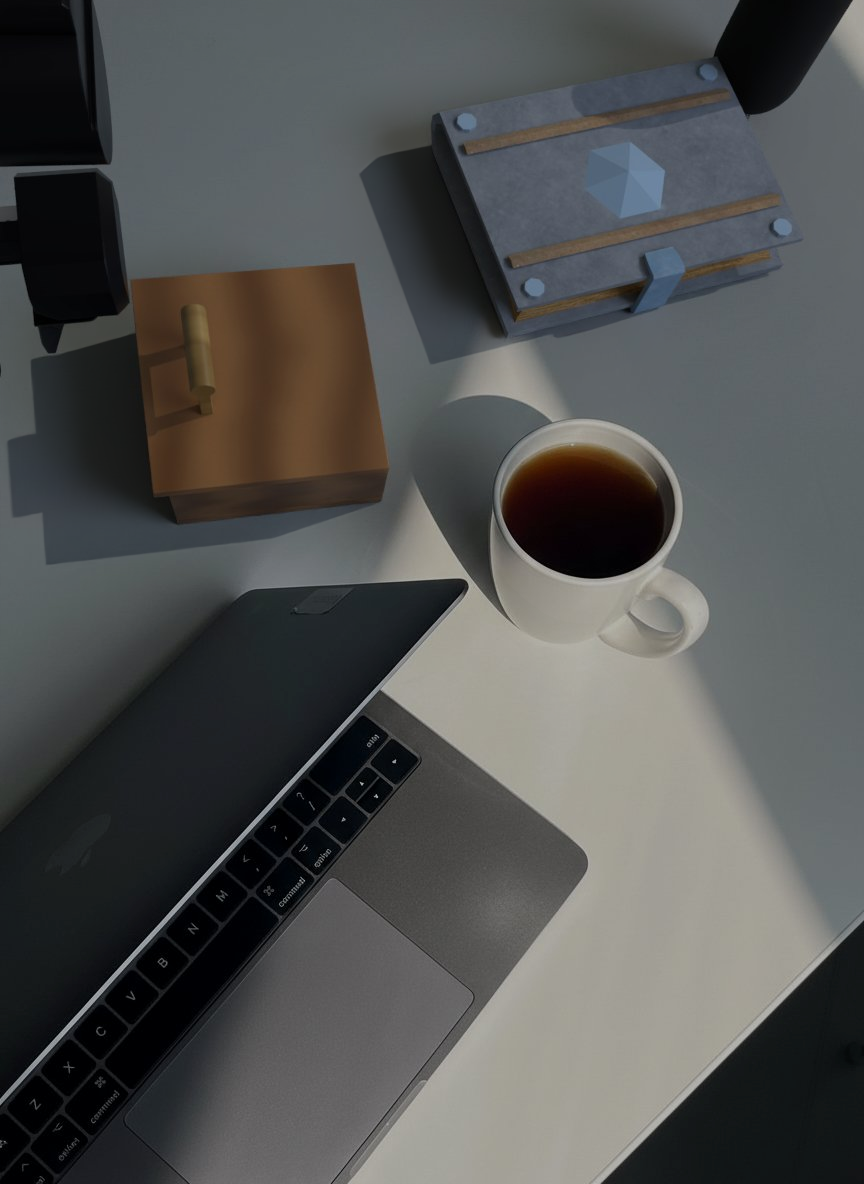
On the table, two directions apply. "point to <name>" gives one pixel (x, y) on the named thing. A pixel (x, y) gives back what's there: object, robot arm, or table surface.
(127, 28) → the table surface
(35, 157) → the robot arm
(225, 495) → the chest
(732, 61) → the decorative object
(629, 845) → the table surface
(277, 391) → the lid
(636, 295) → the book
